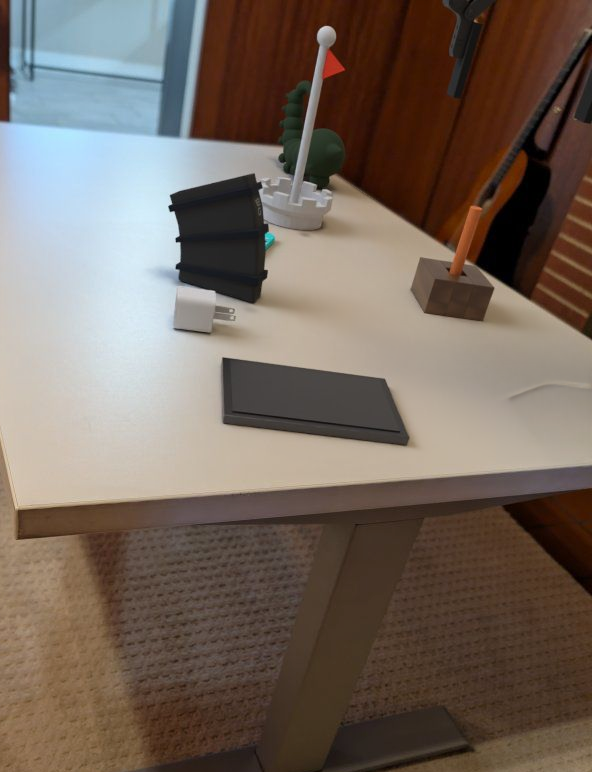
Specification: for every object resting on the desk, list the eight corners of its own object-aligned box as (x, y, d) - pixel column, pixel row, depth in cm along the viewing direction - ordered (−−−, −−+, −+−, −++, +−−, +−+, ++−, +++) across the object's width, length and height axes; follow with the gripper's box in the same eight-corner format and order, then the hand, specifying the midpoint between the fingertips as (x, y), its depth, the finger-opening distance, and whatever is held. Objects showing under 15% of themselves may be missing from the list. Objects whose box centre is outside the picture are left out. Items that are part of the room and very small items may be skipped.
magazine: (277, 299, 94) (248, 176, 88) (186, 314, 100) (152, 199, 94) (287, 291, 97) (259, 171, 91) (198, 305, 103) (166, 193, 97)
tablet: (383, 385, 83) (385, 377, 82) (407, 445, 73) (410, 436, 72) (220, 364, 80) (222, 355, 80) (222, 423, 70) (224, 414, 70)
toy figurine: (262, 169, 167) (312, 193, 147) (274, 75, 158) (330, 87, 138) (300, 172, 170) (354, 196, 151) (314, 80, 162) (374, 93, 142)
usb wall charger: (173, 315, 89) (177, 283, 87) (231, 323, 90) (236, 292, 88) (173, 330, 86) (177, 297, 83) (233, 337, 87) (238, 305, 84)
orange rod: (448, 302, 109) (480, 206, 102) (451, 307, 108) (484, 210, 101) (438, 301, 109) (469, 204, 102) (441, 305, 108) (472, 208, 100)
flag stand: (238, 209, 131) (269, 14, 115) (291, 205, 139) (327, 22, 124) (288, 234, 124) (329, 29, 108) (342, 229, 132) (387, 38, 116)
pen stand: (465, 297, 113) (476, 265, 110) (482, 321, 105) (495, 287, 103) (410, 289, 111) (420, 256, 109) (424, 312, 104) (435, 278, 102)
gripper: (717, -121, 69) (618, 124, 80) (456, -183, 66) (391, 80, 77) (766, -129, 63) (651, 138, 74) (480, -198, 60) (405, 91, 71)
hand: (518, 109), depth 76 cm, fingers open, 13 cm apart
